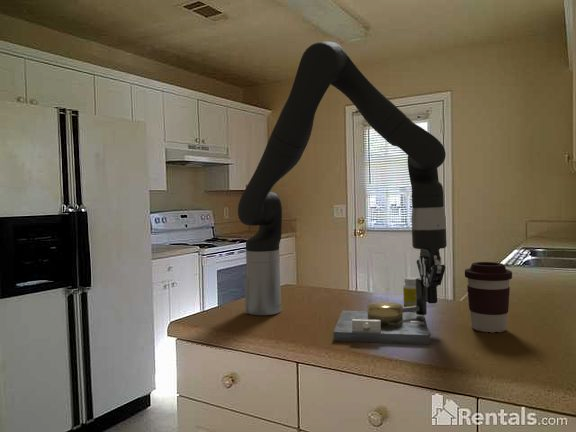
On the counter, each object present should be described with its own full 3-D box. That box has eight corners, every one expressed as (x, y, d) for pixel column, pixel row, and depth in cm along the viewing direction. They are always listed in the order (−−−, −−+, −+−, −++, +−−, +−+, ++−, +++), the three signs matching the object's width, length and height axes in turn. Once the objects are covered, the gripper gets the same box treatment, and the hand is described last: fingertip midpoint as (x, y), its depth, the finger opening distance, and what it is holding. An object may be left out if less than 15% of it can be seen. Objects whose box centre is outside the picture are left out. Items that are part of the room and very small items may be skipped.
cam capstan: (379, 324, 101) (378, 287, 101) (361, 316, 109) (360, 281, 109) (436, 317, 107) (435, 281, 106) (415, 309, 114) (415, 276, 114)
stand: (333, 341, 99) (333, 321, 99) (342, 318, 118) (342, 301, 118) (430, 345, 95) (429, 324, 94) (423, 320, 113) (423, 302, 113)
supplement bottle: (422, 310, 123) (421, 279, 123) (404, 310, 124) (403, 279, 124) (420, 306, 128) (420, 276, 128) (403, 306, 129) (402, 276, 129)
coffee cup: (509, 337, 98) (509, 268, 98) (461, 331, 103) (460, 265, 103) (515, 326, 107) (514, 261, 106) (469, 321, 112) (469, 260, 111)
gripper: (456, 227, 99) (459, 308, 99) (434, 225, 112) (437, 296, 112) (421, 229, 98) (424, 309, 99) (404, 227, 112) (407, 297, 112)
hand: (431, 302), depth 105 cm, fingers closed
